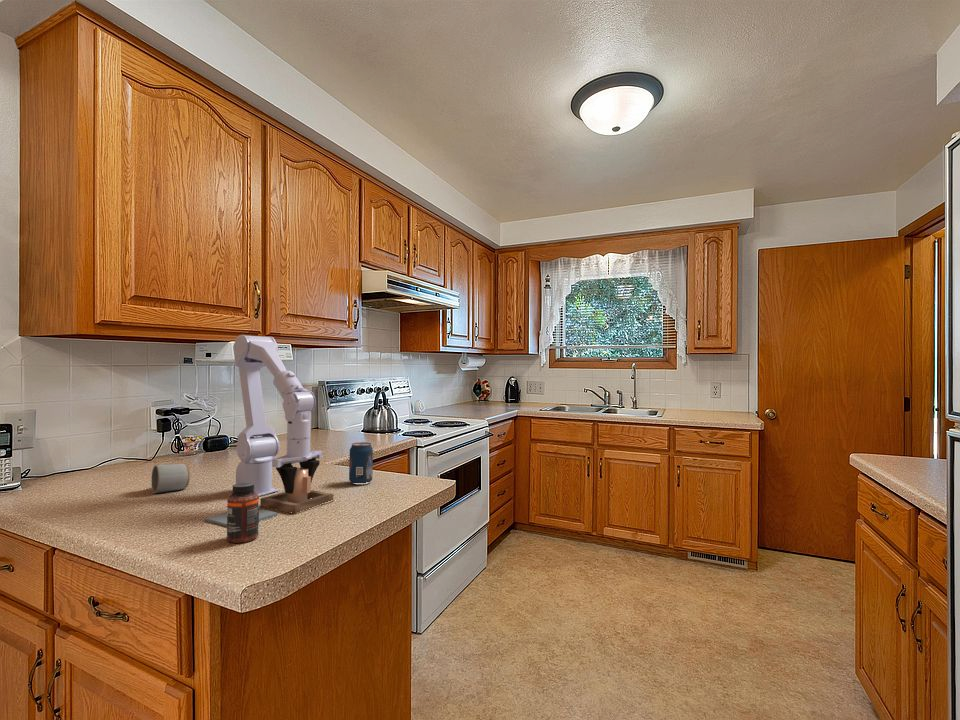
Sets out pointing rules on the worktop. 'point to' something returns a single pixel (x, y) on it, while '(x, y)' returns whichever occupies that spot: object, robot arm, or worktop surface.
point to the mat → (222, 517)
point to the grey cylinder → (170, 477)
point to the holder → (280, 503)
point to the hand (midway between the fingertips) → (297, 490)
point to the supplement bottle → (242, 513)
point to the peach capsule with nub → (300, 486)
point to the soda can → (360, 463)
